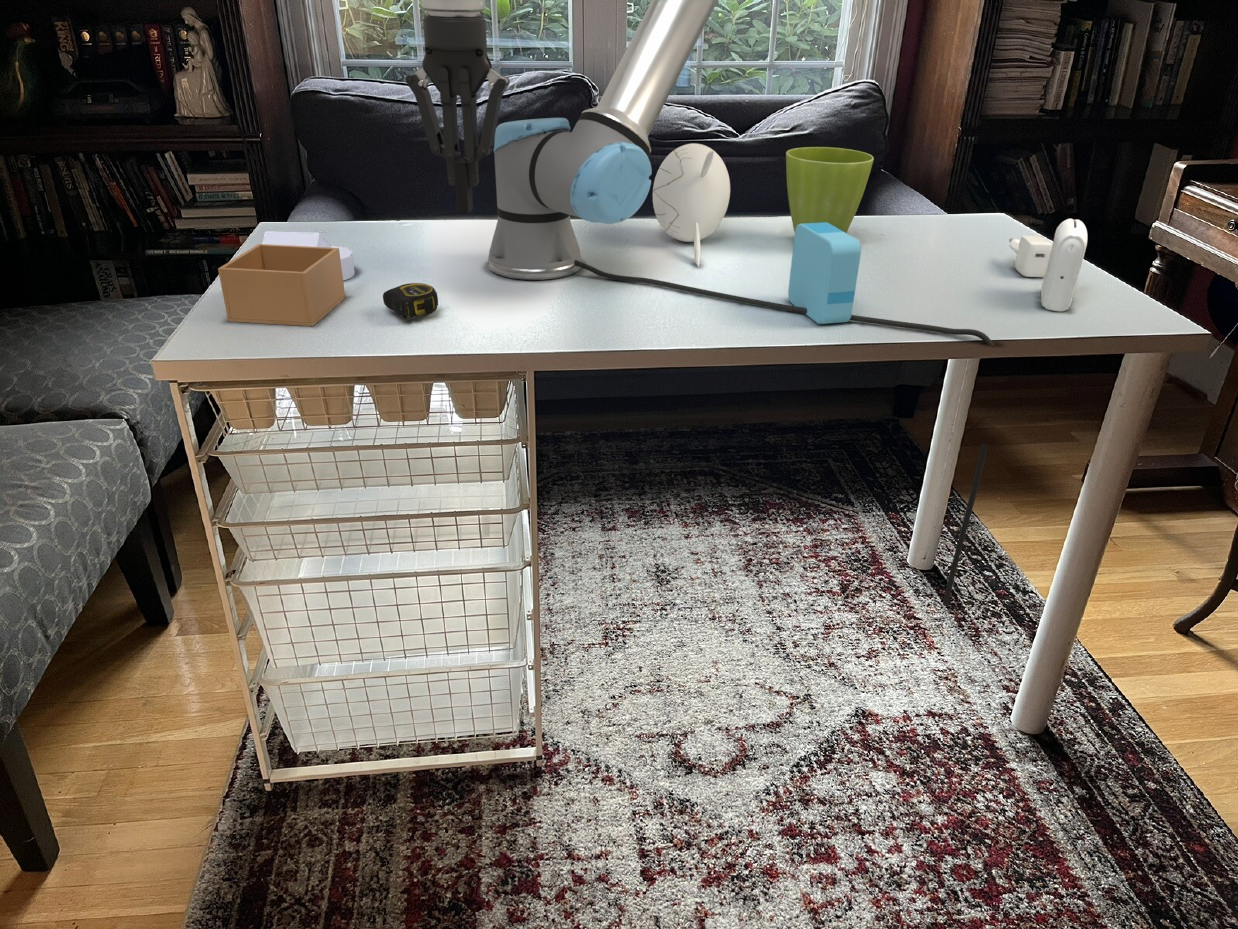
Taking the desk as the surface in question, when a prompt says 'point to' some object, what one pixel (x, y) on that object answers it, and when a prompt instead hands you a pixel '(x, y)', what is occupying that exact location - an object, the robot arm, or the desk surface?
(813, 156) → the flower pot
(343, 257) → the wedge on round base
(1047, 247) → the power adapter
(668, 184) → the cracked egg ornament
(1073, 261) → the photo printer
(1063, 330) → the desk surface
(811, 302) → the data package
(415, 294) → the tape measure
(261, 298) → the box
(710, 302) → the desk surface
